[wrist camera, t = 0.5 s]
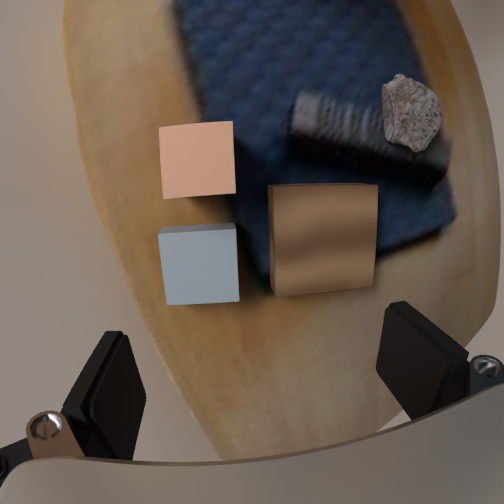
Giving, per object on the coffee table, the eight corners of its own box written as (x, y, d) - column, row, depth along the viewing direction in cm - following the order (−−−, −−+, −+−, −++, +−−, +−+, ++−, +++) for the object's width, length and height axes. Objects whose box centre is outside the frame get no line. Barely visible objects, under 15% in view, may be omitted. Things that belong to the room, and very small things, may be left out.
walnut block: (266, 184, 34) (273, 187, 30) (362, 183, 35) (377, 185, 31) (270, 283, 37) (275, 297, 33) (358, 275, 38) (372, 286, 34)
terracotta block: (175, 138, 31) (159, 127, 22) (229, 133, 31) (232, 121, 23) (178, 190, 32) (163, 198, 24) (231, 186, 33) (235, 193, 24)
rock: (382, 151, 33) (399, 150, 30) (374, 71, 30) (390, 63, 27) (433, 155, 34) (451, 155, 30) (426, 82, 31) (443, 77, 27)
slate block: (164, 226, 33) (158, 233, 30) (234, 222, 34) (235, 229, 30) (172, 291, 36) (167, 305, 32) (237, 287, 36) (239, 301, 33)
